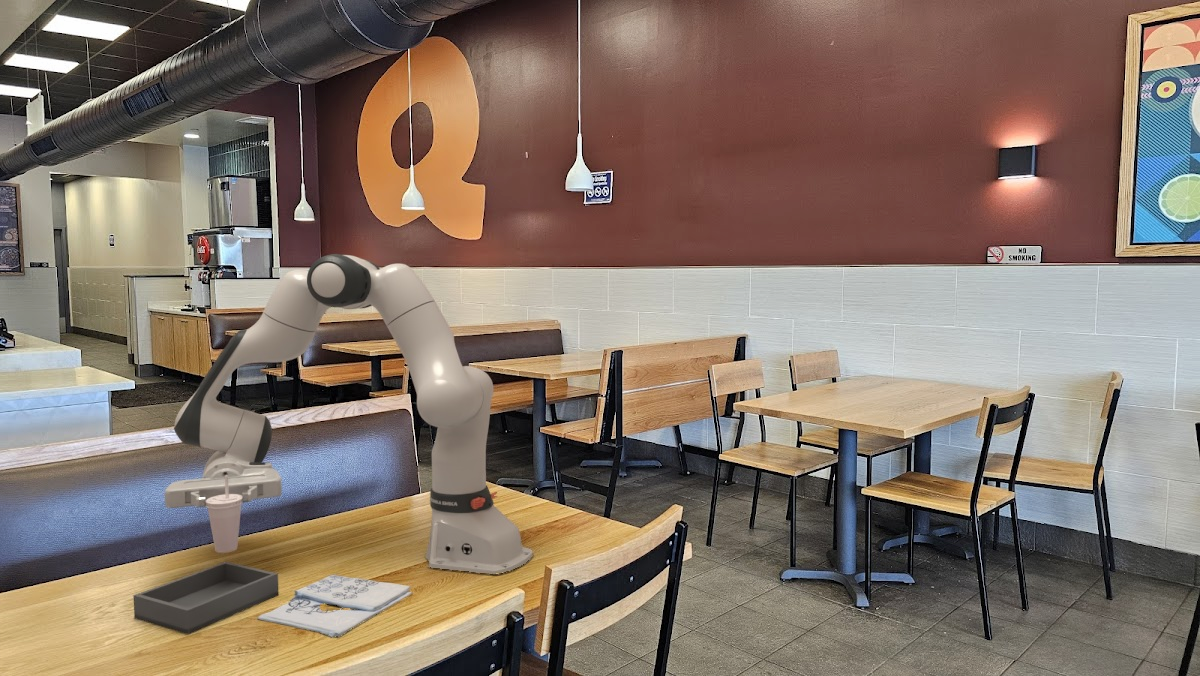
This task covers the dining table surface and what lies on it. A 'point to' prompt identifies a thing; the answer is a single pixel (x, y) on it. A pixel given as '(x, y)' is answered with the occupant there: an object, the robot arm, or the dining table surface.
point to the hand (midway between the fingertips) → (224, 500)
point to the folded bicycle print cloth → (336, 592)
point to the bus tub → (205, 597)
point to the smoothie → (225, 519)
